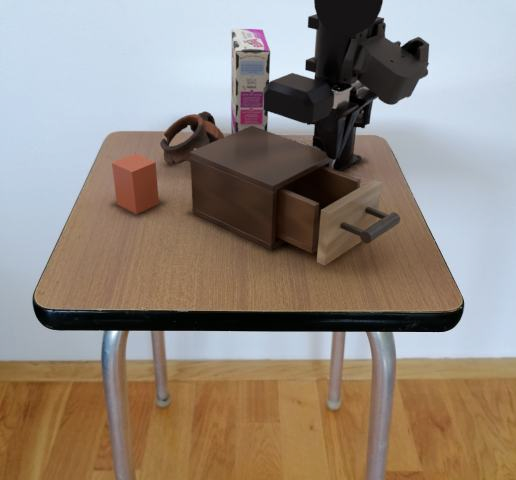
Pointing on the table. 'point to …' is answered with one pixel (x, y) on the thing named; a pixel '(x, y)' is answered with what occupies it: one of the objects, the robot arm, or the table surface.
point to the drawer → (330, 213)
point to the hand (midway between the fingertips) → (333, 157)
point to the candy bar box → (248, 79)
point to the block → (135, 183)
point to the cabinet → (248, 180)
